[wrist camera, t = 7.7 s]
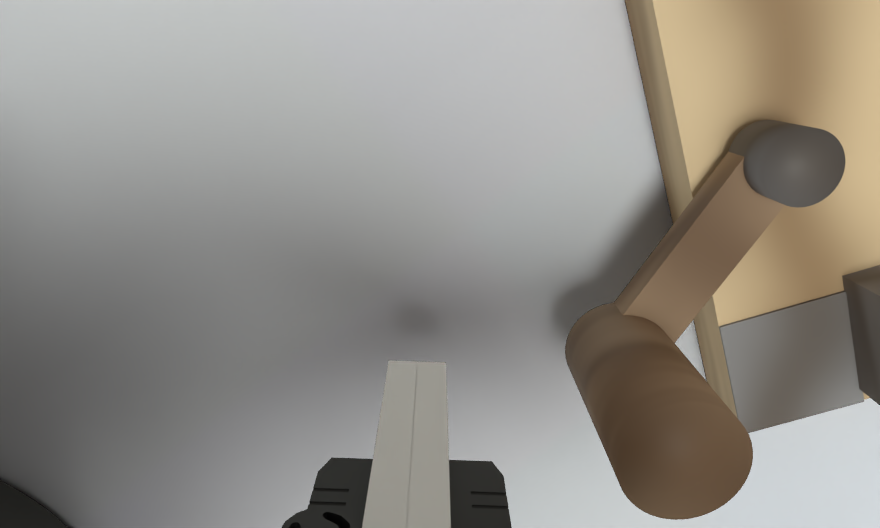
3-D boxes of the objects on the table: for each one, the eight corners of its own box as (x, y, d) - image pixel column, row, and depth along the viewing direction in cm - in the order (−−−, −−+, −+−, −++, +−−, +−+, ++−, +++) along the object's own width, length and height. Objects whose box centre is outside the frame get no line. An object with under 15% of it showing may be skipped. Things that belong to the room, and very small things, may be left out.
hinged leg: (623, 407, 21) (694, 540, 15) (545, 362, 20) (589, 481, 15) (826, 154, 19) (1002, 197, 13) (745, 95, 18) (890, 113, 12)
